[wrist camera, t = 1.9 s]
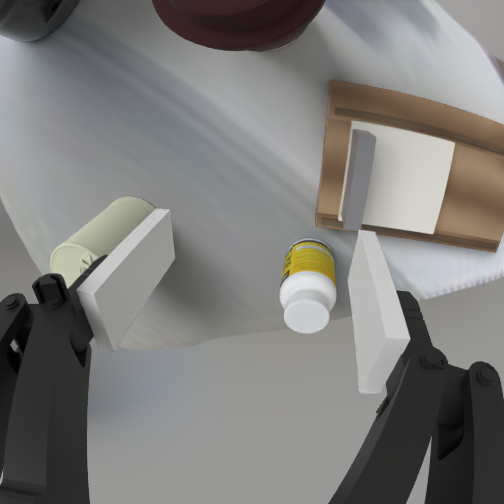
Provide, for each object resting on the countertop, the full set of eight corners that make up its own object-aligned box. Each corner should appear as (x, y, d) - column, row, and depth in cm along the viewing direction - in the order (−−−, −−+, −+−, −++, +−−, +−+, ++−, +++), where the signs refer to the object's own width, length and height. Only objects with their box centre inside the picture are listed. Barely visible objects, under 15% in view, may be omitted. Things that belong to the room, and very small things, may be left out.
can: (179, 217, 34) (128, 278, 24) (157, 274, 39) (114, 338, 29) (113, 183, 34) (47, 229, 23) (100, 242, 38) (46, 295, 28)
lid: (351, 119, 24) (358, 125, 21) (451, 141, 23) (470, 150, 19) (337, 217, 29) (341, 236, 25) (430, 230, 28) (443, 250, 24)
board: (329, 80, 24) (331, 80, 22) (517, 131, 22) (529, 136, 20) (315, 217, 32) (315, 227, 30) (488, 243, 29) (496, 253, 27)
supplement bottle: (284, 235, 33) (275, 291, 25) (335, 237, 32) (341, 293, 24) (285, 277, 36) (276, 338, 28) (331, 278, 35) (335, 340, 27)
